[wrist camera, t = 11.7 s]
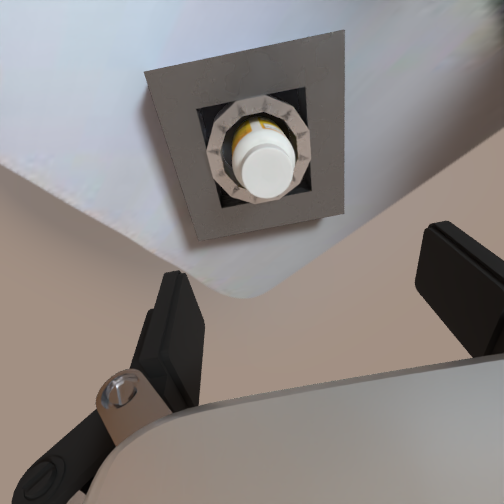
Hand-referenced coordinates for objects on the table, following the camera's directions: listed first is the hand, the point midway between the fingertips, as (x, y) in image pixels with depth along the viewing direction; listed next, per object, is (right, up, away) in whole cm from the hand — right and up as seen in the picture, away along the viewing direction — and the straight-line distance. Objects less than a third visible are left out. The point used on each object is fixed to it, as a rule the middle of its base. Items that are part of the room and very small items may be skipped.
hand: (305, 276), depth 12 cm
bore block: (-2, +12, +18) cm, 22 cm away
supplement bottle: (-2, +12, +19) cm, 22 cm away
